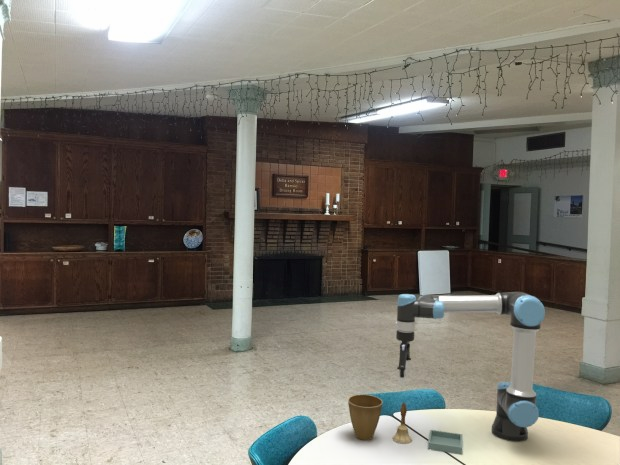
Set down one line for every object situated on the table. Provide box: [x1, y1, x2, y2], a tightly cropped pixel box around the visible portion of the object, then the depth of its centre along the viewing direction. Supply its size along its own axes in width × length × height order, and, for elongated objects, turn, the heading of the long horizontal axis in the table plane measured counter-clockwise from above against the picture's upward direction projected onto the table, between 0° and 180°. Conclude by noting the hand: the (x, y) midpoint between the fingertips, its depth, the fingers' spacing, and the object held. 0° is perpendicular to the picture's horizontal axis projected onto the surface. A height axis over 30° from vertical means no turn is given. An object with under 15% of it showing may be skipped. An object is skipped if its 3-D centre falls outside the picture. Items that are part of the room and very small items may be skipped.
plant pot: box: [347, 393, 384, 441], centre depth 222 cm, size 15×15×16 cm
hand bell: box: [392, 402, 413, 445], centre depth 220 cm, size 8×8×16 cm
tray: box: [427, 429, 463, 455], centre depth 216 cm, size 14×14×3 cm
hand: (403, 379), depth 219 cm, fingers open, 13 cm apart
